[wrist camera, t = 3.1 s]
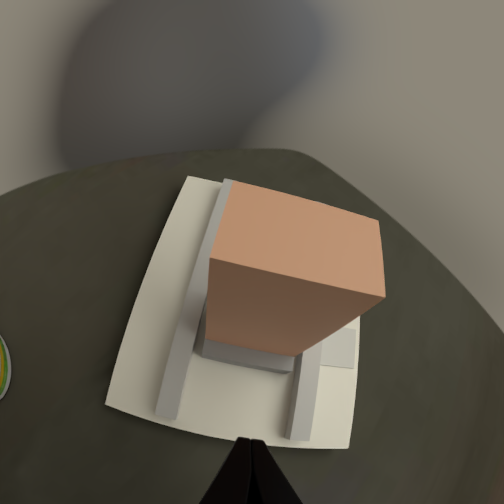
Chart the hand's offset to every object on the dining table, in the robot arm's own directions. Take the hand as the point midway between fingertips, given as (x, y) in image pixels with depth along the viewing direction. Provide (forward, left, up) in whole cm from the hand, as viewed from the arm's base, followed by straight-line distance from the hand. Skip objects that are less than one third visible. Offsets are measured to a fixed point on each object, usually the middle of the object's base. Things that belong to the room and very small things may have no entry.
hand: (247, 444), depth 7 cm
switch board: (+7, +3, -7) cm, 10 cm away
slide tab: (+5, +2, -5) cm, 7 cm away
